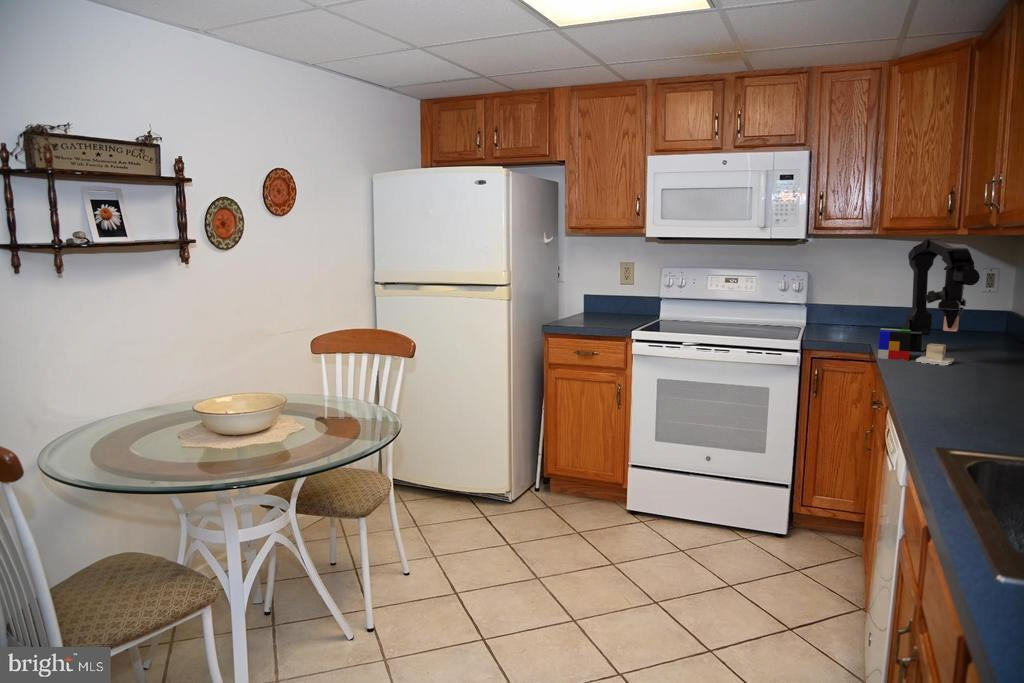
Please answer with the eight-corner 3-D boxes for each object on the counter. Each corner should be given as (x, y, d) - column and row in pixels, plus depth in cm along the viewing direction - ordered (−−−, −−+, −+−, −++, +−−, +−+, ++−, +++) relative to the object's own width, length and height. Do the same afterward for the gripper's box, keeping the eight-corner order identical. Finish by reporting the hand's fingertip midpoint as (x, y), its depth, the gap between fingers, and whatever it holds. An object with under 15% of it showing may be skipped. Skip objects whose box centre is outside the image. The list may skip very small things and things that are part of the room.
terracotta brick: (945, 329, 262) (946, 315, 261) (957, 330, 259) (959, 316, 258) (943, 330, 259) (944, 316, 258) (956, 331, 256) (957, 317, 255)
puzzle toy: (877, 358, 267) (879, 331, 266) (878, 354, 276) (880, 328, 275) (908, 360, 263) (910, 333, 261) (908, 356, 271) (910, 329, 270)
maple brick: (928, 357, 262) (930, 343, 261) (944, 358, 259) (946, 344, 258) (925, 359, 258) (927, 345, 258) (941, 360, 255) (943, 346, 254)
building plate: (922, 358, 266) (922, 355, 266) (953, 362, 259) (953, 358, 259) (915, 362, 258) (916, 359, 258) (948, 365, 252) (948, 362, 252)
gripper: (932, 281, 269) (929, 323, 271) (923, 284, 254) (919, 328, 256) (968, 282, 262) (964, 325, 264) (960, 285, 247) (956, 330, 250)
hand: (950, 327), depth 259 cm, fingers closed on terracotta brick, 4 cm apart
